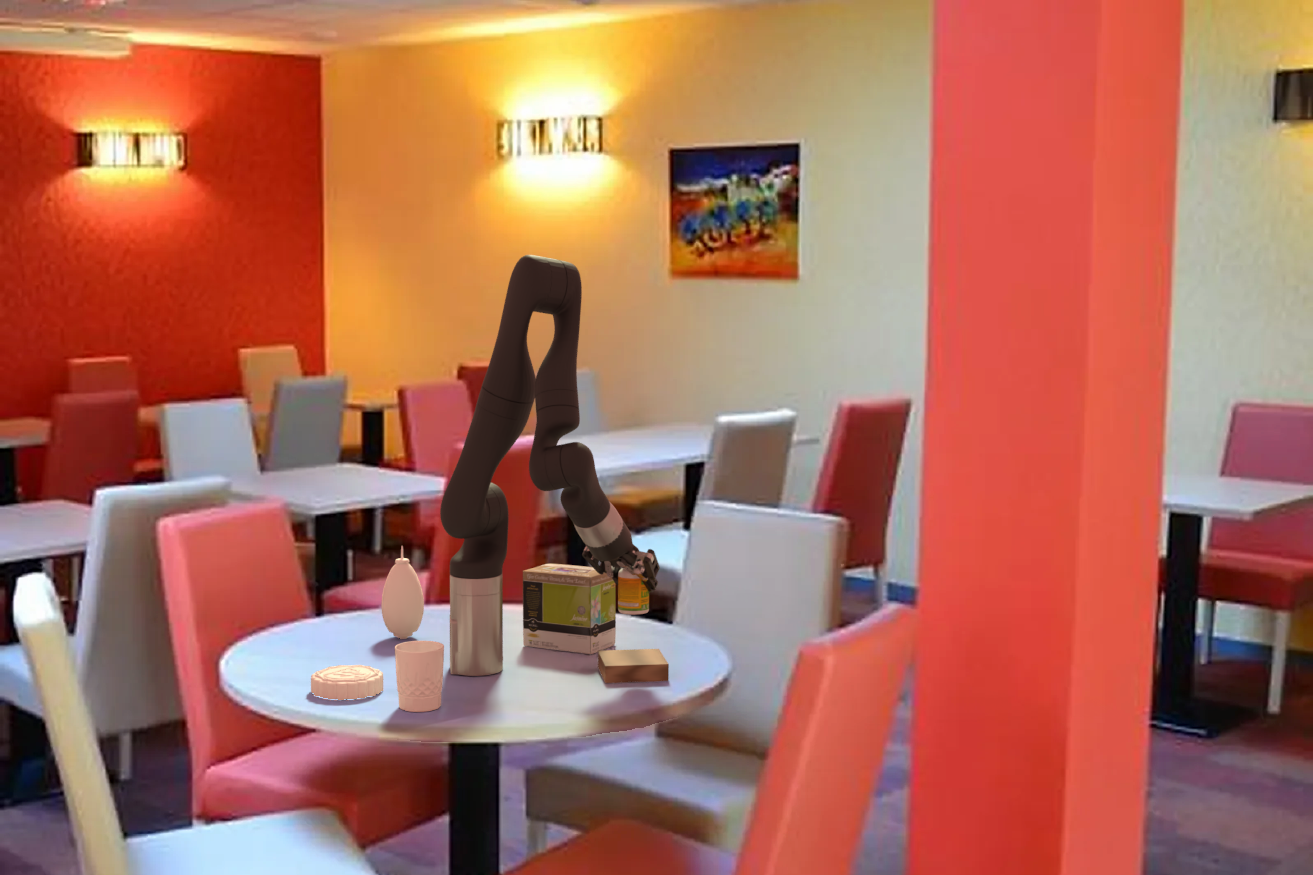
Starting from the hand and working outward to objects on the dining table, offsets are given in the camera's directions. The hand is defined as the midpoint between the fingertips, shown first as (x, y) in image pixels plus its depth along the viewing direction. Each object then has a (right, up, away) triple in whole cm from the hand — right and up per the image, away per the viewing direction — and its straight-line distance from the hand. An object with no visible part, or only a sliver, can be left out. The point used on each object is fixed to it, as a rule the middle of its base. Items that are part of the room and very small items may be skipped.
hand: (638, 586), depth 278 cm
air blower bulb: (-45, -12, +26) cm, 54 cm away
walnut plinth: (-1, -15, 0) cm, 15 cm away
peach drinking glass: (-35, -18, -21) cm, 45 cm away
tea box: (-13, -13, +20) cm, 28 cm away
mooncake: (-49, -17, -12) cm, 53 cm away
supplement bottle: (-1, -5, -1) cm, 5 cm away
